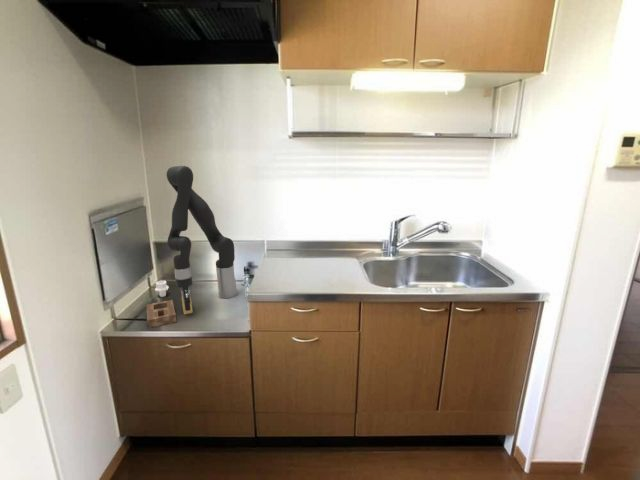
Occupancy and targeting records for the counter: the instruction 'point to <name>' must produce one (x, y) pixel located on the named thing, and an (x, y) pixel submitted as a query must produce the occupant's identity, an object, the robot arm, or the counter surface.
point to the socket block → (160, 313)
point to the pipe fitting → (161, 288)
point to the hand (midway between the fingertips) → (187, 308)
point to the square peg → (184, 307)
